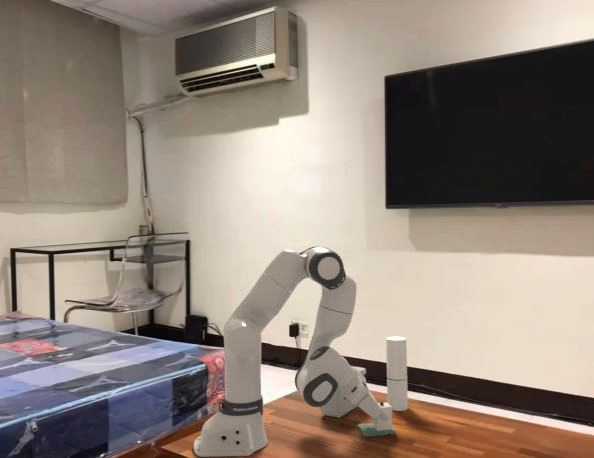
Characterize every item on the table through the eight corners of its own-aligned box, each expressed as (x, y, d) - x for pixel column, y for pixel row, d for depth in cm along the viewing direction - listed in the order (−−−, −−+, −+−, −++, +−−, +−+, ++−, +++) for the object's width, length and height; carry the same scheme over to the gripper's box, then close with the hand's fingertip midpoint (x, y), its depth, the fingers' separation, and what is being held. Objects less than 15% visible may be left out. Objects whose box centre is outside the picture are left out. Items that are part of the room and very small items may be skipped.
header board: (365, 436, 171) (365, 426, 171) (357, 427, 179) (357, 417, 179) (395, 433, 173) (395, 423, 173) (387, 424, 181) (386, 414, 181)
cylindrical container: (410, 406, 198) (409, 337, 198) (403, 412, 192) (401, 341, 192) (392, 403, 202) (390, 335, 202) (384, 408, 196) (383, 339, 196)
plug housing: (377, 430, 173) (376, 405, 173) (372, 424, 178) (372, 400, 178) (392, 428, 174) (391, 403, 174) (387, 423, 179) (386, 399, 179)
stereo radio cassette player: (348, 399, 208) (347, 346, 208) (368, 402, 203) (366, 349, 203) (319, 416, 191) (317, 358, 190) (339, 420, 186) (338, 361, 186)
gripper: (339, 380, 185) (367, 407, 187) (352, 404, 164) (383, 434, 166) (352, 367, 185) (380, 393, 187) (367, 389, 165) (398, 419, 167)
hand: (382, 413), depth 176 cm, fingers open, 8 cm apart
